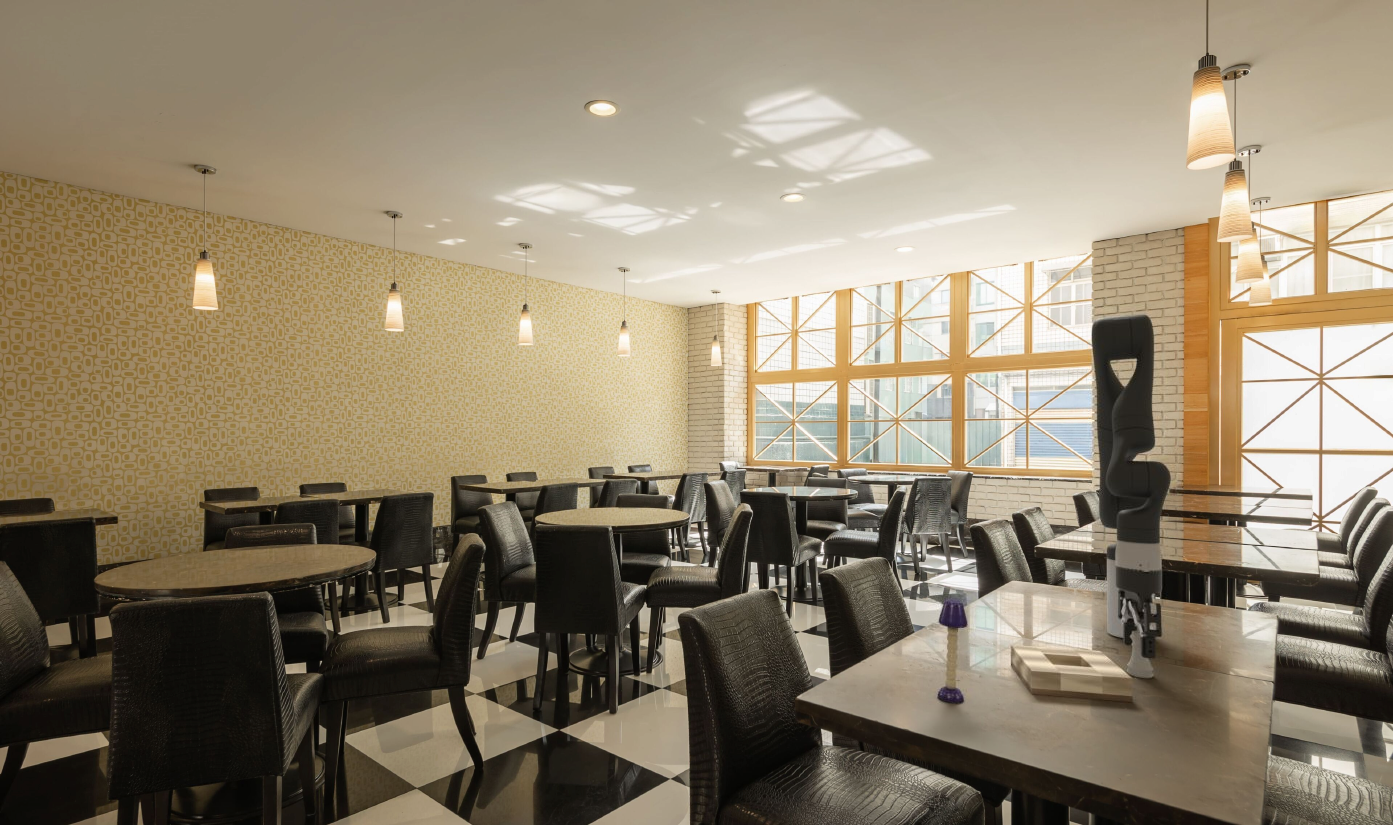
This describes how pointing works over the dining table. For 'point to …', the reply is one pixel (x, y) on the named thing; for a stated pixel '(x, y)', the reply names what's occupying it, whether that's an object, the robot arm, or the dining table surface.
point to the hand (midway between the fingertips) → (1138, 651)
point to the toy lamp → (952, 647)
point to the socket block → (1071, 673)
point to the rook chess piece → (1138, 659)
